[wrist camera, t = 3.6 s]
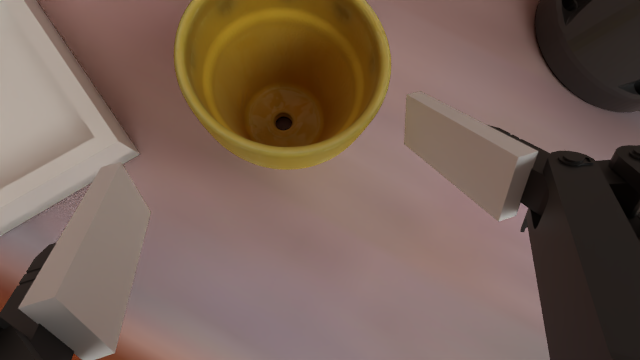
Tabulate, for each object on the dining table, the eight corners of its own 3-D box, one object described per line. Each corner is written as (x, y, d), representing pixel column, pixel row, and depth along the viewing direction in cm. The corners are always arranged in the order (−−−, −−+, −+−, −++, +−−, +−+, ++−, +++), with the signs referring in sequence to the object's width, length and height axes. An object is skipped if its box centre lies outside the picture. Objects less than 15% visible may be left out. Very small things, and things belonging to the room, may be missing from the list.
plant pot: (294, 218, 22) (303, 204, 13) (187, 131, 23) (119, 54, 13) (373, 120, 25) (431, 46, 15) (276, 42, 25) (273, -79, 15)
